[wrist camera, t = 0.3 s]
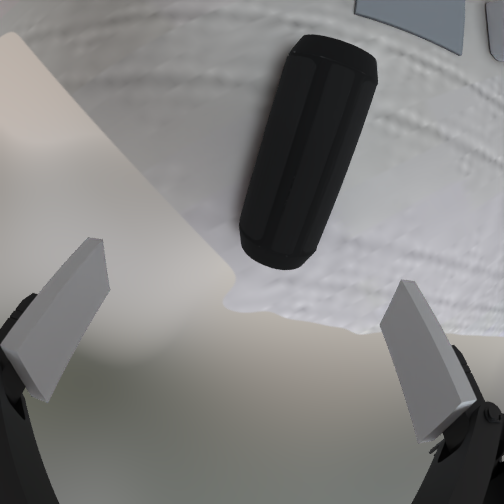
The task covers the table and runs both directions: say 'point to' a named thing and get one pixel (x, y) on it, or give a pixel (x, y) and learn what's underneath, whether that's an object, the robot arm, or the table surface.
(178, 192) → the table surface
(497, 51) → the photo printer
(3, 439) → the robot arm
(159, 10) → the table surface
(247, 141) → the table surface
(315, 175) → the portable speaker
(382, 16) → the rubber mat
